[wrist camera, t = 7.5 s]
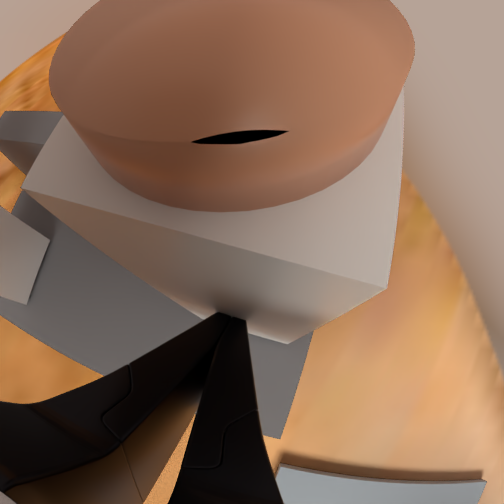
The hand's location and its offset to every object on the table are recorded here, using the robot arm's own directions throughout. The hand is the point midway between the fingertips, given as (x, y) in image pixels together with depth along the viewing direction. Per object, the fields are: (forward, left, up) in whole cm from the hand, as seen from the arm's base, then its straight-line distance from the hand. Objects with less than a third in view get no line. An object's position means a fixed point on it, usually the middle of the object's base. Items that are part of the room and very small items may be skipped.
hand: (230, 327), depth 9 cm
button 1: (+1, +2, -5) cm, 6 cm away
